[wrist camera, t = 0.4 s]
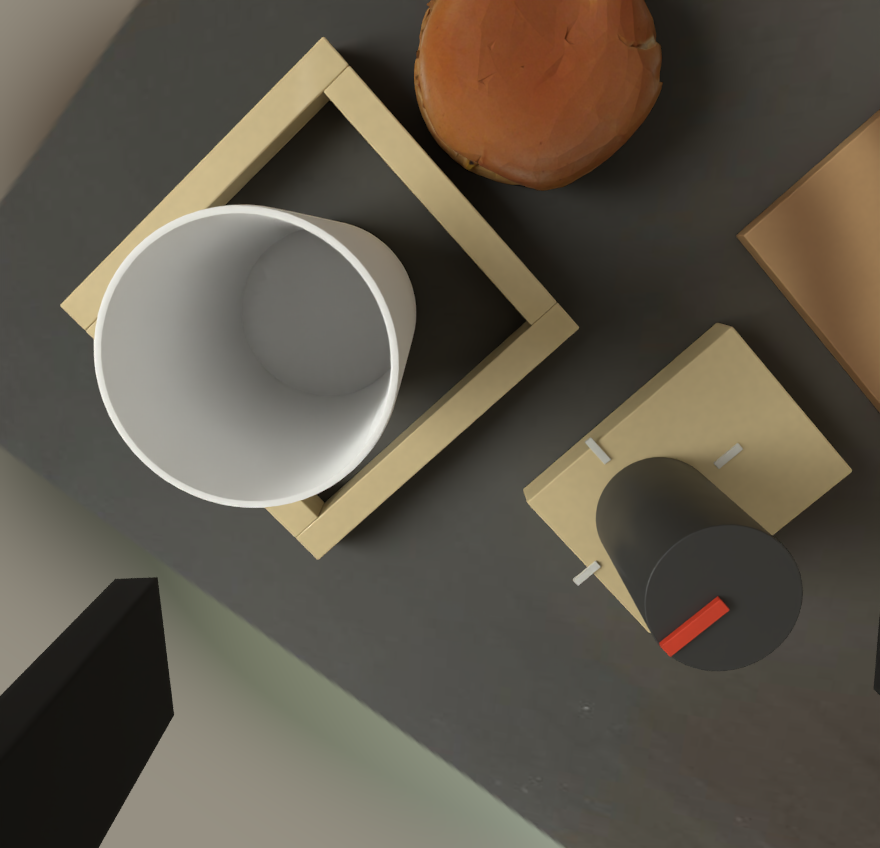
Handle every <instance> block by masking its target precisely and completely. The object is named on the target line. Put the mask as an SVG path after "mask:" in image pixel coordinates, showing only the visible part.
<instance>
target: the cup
mask: <svg viewBox="0 0 880 848" xmlns="http://www.w3.org/2000/svg"><path fill="white" fill-rule="evenodd" d="M415 325H416V302H415V296H414V291H413V288H412V284H411V281H410V279H409V277H408V274H407V272H406V270H405V268H404V267H403V265H402V263H401V262H400V260H399V259H398V258H397V256H396V255H395V254H394V253H393V252H392V250H391V249H390V248H389V247H388V246H387V245H386V244H384V243H383V242H382V241H381V240H379V239H378V238H377V237H375V236H374V235H372V234H371V233H369V232H367V231H365V230H363V229H361V228H359V227H356V226H353V225H350V224H347V223H343V222H338V221H333V220H329V219H324V218H320V217H315V216H310V215H306V214H301V213H297V212H292V211H287V210H282V209H277V208H272V207H266V206H259V205H225V206H217V207H212V208H208V209H203V210H199V211H196V212H193V213H190V214H187V215H184V216H182V217H180V218H178V219H175V220H173V221H171V222H169V223H167V224H166V225H164V226H162V227H161V228H159V229H157V230H156V231H154V232H153V233H152V234H150V235H149V236H148V237H146V238H145V239H144V240H143V241H142V242H141V243H140V244H138V245H137V246H136V247H135V248H134V249H133V250H132V251H131V253H130V254H129V255H128V256H127V257H126V258H125V259H124V261H123V262H122V264H121V265H120V266H119V268H118V269H117V271H116V272H115V274H114V276H113V278H112V279H111V281H110V283H109V285H108V287H107V289H106V292H105V294H104V297H103V299H102V302H101V305H100V309H99V312H98V317H97V322H96V327H95V337H94V361H95V371H96V376H97V381H98V386H99V389H100V393H101V396H102V399H103V402H104V404H105V407H106V409H107V412H108V414H109V416H110V418H111V420H112V422H113V424H114V425H115V427H116V429H117V430H118V432H119V433H120V435H121V437H122V438H123V440H124V441H125V442H126V443H127V445H128V446H129V447H130V449H131V450H132V451H133V452H134V453H135V454H136V455H137V456H138V457H139V459H140V460H141V461H142V462H143V463H144V464H146V465H147V466H148V467H149V468H150V469H151V470H152V471H154V472H155V473H156V474H157V475H159V476H160V477H162V478H163V479H164V480H166V481H167V482H169V483H171V484H172V485H174V486H176V487H177V488H179V489H181V490H183V491H185V492H187V493H189V494H191V495H194V496H196V497H199V498H202V499H205V500H208V501H211V502H215V503H219V504H223V505H229V506H235V507H247V508H261V507H273V506H280V505H285V504H290V503H293V502H297V501H300V500H303V499H306V498H309V497H311V496H313V495H316V494H318V493H320V492H322V491H324V490H326V489H327V488H329V487H331V486H332V485H334V484H335V483H337V482H338V481H340V480H341V479H343V478H344V477H345V476H346V475H348V474H349V473H350V472H351V471H352V470H354V469H355V467H356V466H357V465H358V464H359V463H360V462H361V461H362V460H363V459H364V458H365V457H366V456H367V455H368V453H369V452H370V451H371V450H372V448H373V447H374V446H375V444H376V443H377V441H378V440H379V438H380V437H381V435H382V433H383V431H384V429H385V427H386V426H387V424H388V421H389V419H390V416H391V414H392V411H393V409H394V405H395V402H396V398H397V395H398V391H399V388H400V384H401V380H402V377H403V373H404V369H405V365H406V362H407V358H408V354H409V350H410V346H411V343H412V339H413V335H414V331H415Z"/></svg>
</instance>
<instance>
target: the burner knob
mask: <svg viewBox="0 0 880 848" xmlns="http://www.w3.org/2000/svg"><path fill="white" fill-rule="evenodd" d="M596 527H597V532H598V536H599V538H600V540H601V543H602V544H603V546H604V548H605V550H606V552H607V554H608V555H609V557H610V559H611V561H612V563H613V565H614V566H615V568H616V570H617V572H618V574H619V576H620V577H621V579H622V581H623V583H624V585H625V586H626V588H627V590H628V592H629V594H630V596H631V597H632V599H633V601H634V603H635V605H636V607H637V608H638V610H639V612H640V614H641V616H642V618H643V619H644V621H645V623H646V625H647V627H648V629H649V630H650V632H651V634H652V636H653V637H654V639H655V641H656V642H657V643H658V644H659V646H660V647H661V648H662V649H663V650H664V651H665V652H666V653H667V654H668V655H669V656H670V657H673V658H674V659H675V660H677V661H679V662H681V663H683V664H685V665H688V666H690V667H693V668H697V669H701V670H707V671H728V670H735V669H739V668H742V667H746V666H748V665H751V664H753V663H755V662H757V661H759V660H761V659H763V658H764V657H766V656H767V655H769V654H770V653H772V652H773V651H774V650H775V649H776V648H777V647H779V646H780V645H781V643H782V642H783V641H784V640H785V639H786V638H787V636H788V635H789V633H790V632H791V631H792V629H793V627H794V625H795V623H796V621H797V618H798V616H799V613H800V609H801V605H802V596H803V590H802V580H801V575H800V572H799V569H798V566H797V564H796V562H795V560H794V559H793V557H792V555H791V554H790V553H789V551H788V550H787V549H786V548H785V547H784V546H783V545H782V544H781V543H780V542H779V541H778V540H777V539H776V538H775V537H773V536H772V535H771V534H770V533H769V532H768V531H767V530H765V529H764V528H763V527H762V526H761V525H760V524H759V523H757V522H756V521H755V520H754V519H753V518H752V517H751V516H749V515H748V514H747V513H746V512H745V511H744V510H743V509H741V508H740V507H739V506H738V505H737V504H736V503H735V502H734V501H732V500H731V499H730V498H729V497H728V496H727V495H726V494H724V493H723V492H722V491H721V490H720V489H719V488H718V487H716V486H715V485H714V484H713V483H712V482H711V481H710V480H708V479H707V478H706V477H705V476H704V475H703V474H702V473H700V472H699V471H698V470H697V469H695V468H694V467H693V466H691V465H689V464H687V463H685V462H683V461H680V460H677V459H673V458H665V457H654V458H647V459H643V460H640V461H637V462H635V463H632V464H630V465H628V466H627V467H625V468H623V469H622V470H621V471H619V472H618V473H617V474H616V475H615V476H614V477H613V478H612V479H611V480H610V481H609V482H608V484H607V485H606V487H605V488H604V490H603V491H602V494H601V496H600V498H599V501H598V505H597V510H596Z"/></svg>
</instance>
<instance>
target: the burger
mask: <svg viewBox="0 0 880 848" xmlns="http://www.w3.org/2000/svg"><path fill="white" fill-rule="evenodd" d="M427 5H428V6H429V8H428V9H427V11H426V13H425V16H424V19H423V22H422V25H421V32H420V44H419V48H418V51H417V59H416V61H415V69H414V84H415V91H416V96H417V102H418V105H419V108H420V111H421V114H422V117H423V119H424V121H425V123H426V126H427V128H428V130H429V131H430V133H431V135H432V137H433V138H434V139H435V141H436V142H437V144H438V145H439V146H440V147H441V148H442V149H443V150H444V151H445V152H446V153H447V154H448V155H449V156H450V157H451V158H452V159H453V160H455V161H456V162H457V163H459V164H460V165H461V166H462V167H464V168H465V169H467V170H468V171H471V172H473V173H475V174H478V175H480V176H483V177H486V178H489V179H491V180H494V181H497V182H501V183H505V184H510V185H523V186H525V187H529V188H534V189H536V190H543V191H544V190H550V189H555V188H559V187H564V186H566V185H568V184H570V183H572V182H574V181H575V180H577V179H579V178H580V177H582V176H584V175H585V174H587V173H589V172H591V171H592V170H594V169H595V168H596V167H597V166H599V165H600V164H602V163H603V162H604V161H606V160H607V159H608V158H610V157H611V156H612V155H613V154H614V153H615V152H616V151H617V150H618V149H619V148H620V147H621V146H622V145H624V144H625V143H626V142H627V141H628V139H629V138H630V137H631V136H632V135H633V133H634V132H635V131H636V130H637V129H638V128H639V126H640V125H641V124H642V123H643V122H644V120H645V119H646V117H647V116H648V114H649V113H650V111H651V109H652V108H653V106H654V104H655V102H656V100H657V98H658V96H659V94H660V91H661V88H662V84H663V82H659V77H660V68H661V62H662V53H661V45H660V44H659V43H657V42H656V31H655V26H654V22H653V18H652V16H651V14H650V12H649V10H648V8H647V5H646V3H645V1H644V0H431V1H430V2H429V3H428V4H427Z"/></svg>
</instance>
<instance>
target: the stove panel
mask: <svg viewBox="0 0 880 848" xmlns="http://www.w3.org/2000/svg"><path fill="white" fill-rule="evenodd" d="M654 457H665V458H673V459H677V460H680V461H683V462H685V463H687V464H689V465H691V466H693V467H694V468H695V469H697V470H698V471H699V472H700V473H702V474H703V475H704V476H705V477H706V478H707V479H708V480H710V481H711V482H712V483H713V484H714V485H715V486H716V487H718V488H719V489H720V490H721V491H722V492H723V493H724V494H726V495H727V496H728V497H729V498H730V499H731V500H732V501H734V502H735V503H736V504H737V505H738V506H739V507H740V508H741V509H743V510H744V511H745V512H746V513H747V514H748V515H749V516H751V517H752V518H753V519H754V520H755V521H756V522H757V523H759V524H760V525H761V526H762V527H763V528H764V529H765V530H767V531H768V532H769V533H770V534H771V535H774V534H775V533H776V532H777V531H779V530H780V529H781V528H782V527H784V526H785V525H786V524H787V523H789V522H790V521H791V520H792V519H794V518H795V517H796V516H797V515H799V514H800V513H801V512H802V511H804V510H805V509H806V508H807V507H809V506H810V505H811V504H812V503H814V502H815V501H816V500H817V499H819V498H820V497H821V496H822V495H824V494H825V493H826V492H827V491H829V490H830V489H831V488H832V487H834V486H835V485H836V484H837V483H839V482H840V481H841V480H842V479H844V478H845V477H846V476H847V475H849V474H850V473H851V472H852V469H851V468H850V467H849V466H848V464H847V463H846V462H845V461H844V460H843V458H842V457H841V456H840V455H839V454H838V452H837V451H836V450H835V449H834V448H833V446H832V445H831V444H830V443H829V442H828V440H827V439H826V438H825V437H824V436H823V434H822V433H821V432H820V431H819V430H818V428H817V427H816V426H815V425H814V424H813V422H812V421H811V420H810V419H809V418H808V416H807V415H806V414H805V413H804V412H803V410H802V409H801V408H800V407H799V406H798V404H797V403H796V402H795V401H794V400H793V398H792V397H791V396H790V395H789V394H788V393H787V391H786V390H785V389H784V388H783V387H782V385H781V384H780V383H779V382H778V381H777V379H776V378H775V377H774V376H773V375H772V373H771V372H770V371H769V370H768V369H767V367H766V366H765V365H764V364H763V363H762V361H761V360H760V359H759V358H758V357H757V355H756V354H755V353H754V352H753V351H752V349H751V348H750V347H749V346H748V345H747V343H746V342H745V341H744V340H743V339H742V337H741V336H740V335H739V334H738V333H737V331H736V330H735V329H734V328H733V327H731V326H728V325H724V324H721V323H716V324H715V325H713V326H712V327H711V328H710V329H709V330H708V331H706V332H705V333H704V334H703V335H702V336H701V337H699V338H698V339H697V340H696V341H695V342H694V343H692V344H691V345H690V346H689V347H688V348H687V349H686V350H684V351H683V352H682V353H681V354H680V355H679V356H677V357H676V358H675V359H674V360H673V361H672V362H670V363H669V364H668V365H667V366H666V367H665V368H663V369H662V370H661V371H660V372H659V373H658V374H656V375H655V376H654V377H653V378H652V379H651V380H650V381H648V382H647V383H646V384H645V385H644V386H643V387H641V388H640V389H639V390H638V391H637V392H636V393H634V394H633V395H632V396H631V397H630V398H629V399H627V400H626V401H625V402H624V403H623V404H622V405H620V406H619V407H618V408H617V409H616V410H615V411H614V412H612V413H611V414H610V415H609V416H608V417H607V418H605V419H604V420H603V421H602V422H601V423H600V424H598V425H597V426H596V427H595V428H594V429H593V430H591V431H590V432H589V433H588V434H587V435H586V436H584V437H583V438H582V439H581V440H580V441H579V442H578V443H576V444H575V445H574V446H573V447H572V448H571V449H569V450H568V451H567V452H566V453H565V454H564V455H562V456H561V457H560V458H559V459H558V460H557V461H555V462H554V463H553V464H552V465H551V466H550V467H548V468H547V469H546V470H545V471H544V472H543V473H542V474H540V475H539V476H538V477H537V478H536V479H535V480H533V481H532V482H531V483H530V484H529V485H528V486H526V487H525V488H524V489H523V491H524V494H525V497H526V500H527V503H528V504H529V505H530V506H531V507H532V508H533V509H534V511H535V512H536V513H537V514H538V515H539V516H540V517H541V518H542V519H543V520H544V521H545V522H546V523H547V524H548V525H549V527H550V528H551V529H552V530H553V531H554V532H555V533H556V534H557V535H558V536H559V537H560V538H561V539H562V540H563V541H564V543H565V544H566V545H567V546H568V547H569V548H570V549H571V550H572V551H573V552H574V553H575V554H576V555H577V556H578V557H579V559H580V560H581V561H582V562H583V563H584V564H585V565H586V566H587V568H586V569H585V570H583V571H582V572H581V573H580V574H579V575H577V576H576V577H575V578H574V579H573V581H574V582H575V583H576V584H577V585H580V584H581V583H582V582H583V581H584V580H586V579H587V578H588V577H589V576H590V575H592V574H593V573H594V575H595V576H596V577H597V578H598V579H599V580H600V581H601V582H602V583H603V584H604V585H605V586H606V587H607V588H608V589H609V591H610V592H611V593H612V594H613V595H614V596H615V597H616V598H617V599H618V600H619V601H620V602H621V603H622V604H623V605H624V607H625V608H626V609H627V610H628V611H629V612H630V613H631V614H632V615H633V616H634V617H635V618H636V619H637V620H638V621H639V623H640V624H641V625H642V626H643V627H644V628H645V629H646V630H647V631H648V632H649V633H651V632H650V630H649V629H648V627H647V625H646V623H645V621H644V619H643V618H642V616H641V614H640V612H639V610H638V608H637V607H636V605H635V603H634V601H633V599H632V597H631V596H630V594H629V592H628V590H627V588H626V586H625V585H624V583H623V581H622V579H621V577H620V576H619V574H618V572H617V570H616V568H615V566H614V565H613V563H612V561H611V559H610V557H609V555H608V554H607V552H606V550H605V548H604V546H603V544H602V543H601V540H600V538H599V536H598V532H597V527H596V510H597V505H598V501H599V498H600V496H601V494H602V491H603V490H604V488H605V487H606V485H607V484H608V482H609V481H610V480H611V479H612V478H613V477H614V476H615V475H616V474H617V473H618V472H619V471H621V470H622V469H623V468H625V467H627V466H628V465H630V464H632V463H635V462H637V461H640V460H643V459H647V458H654Z"/></svg>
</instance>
